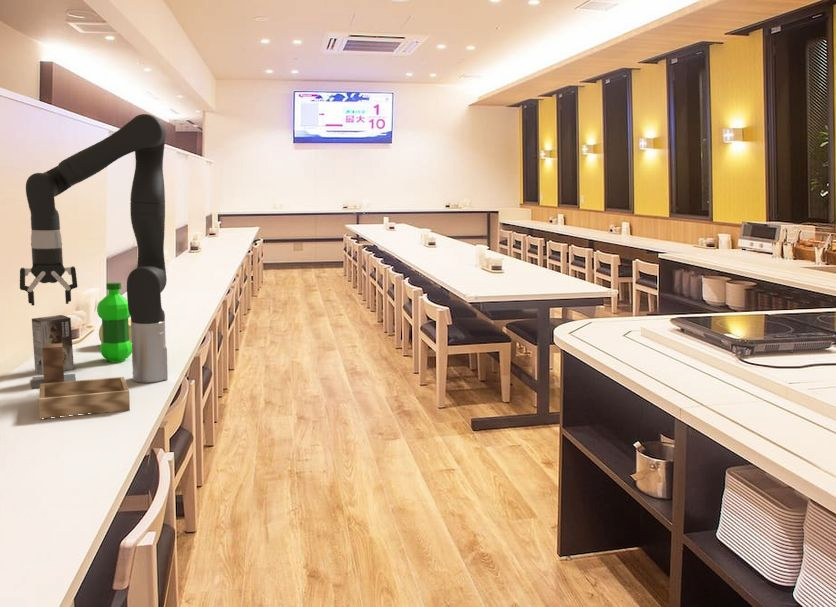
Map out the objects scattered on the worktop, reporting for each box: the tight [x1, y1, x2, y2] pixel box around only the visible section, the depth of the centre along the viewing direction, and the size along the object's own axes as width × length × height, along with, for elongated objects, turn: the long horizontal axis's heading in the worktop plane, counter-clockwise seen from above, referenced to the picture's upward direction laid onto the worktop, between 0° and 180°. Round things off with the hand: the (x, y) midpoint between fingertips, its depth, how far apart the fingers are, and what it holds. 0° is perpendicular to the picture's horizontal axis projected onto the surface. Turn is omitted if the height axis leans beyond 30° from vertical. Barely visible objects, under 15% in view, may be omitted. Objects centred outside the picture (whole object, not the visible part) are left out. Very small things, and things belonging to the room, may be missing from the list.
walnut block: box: [42, 343, 65, 383], centre depth 203 cm, size 5×5×10 cm
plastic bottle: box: [96, 282, 132, 363], centre depth 229 cm, size 10×10×25 cm
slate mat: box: [31, 373, 77, 390], centre depth 204 cm, size 11×11×1 cm
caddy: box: [38, 376, 131, 420], centre depth 182 cm, size 20×15×5 cm
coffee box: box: [31, 314, 75, 375], centre depth 216 cm, size 9×6×16 cm
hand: (50, 304), depth 201 cm, fingers open, 8 cm apart
